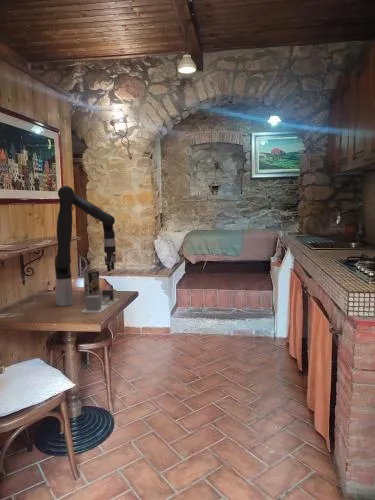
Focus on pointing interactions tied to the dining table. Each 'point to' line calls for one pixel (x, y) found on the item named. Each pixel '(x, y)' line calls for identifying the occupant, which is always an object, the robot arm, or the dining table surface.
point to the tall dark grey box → (107, 296)
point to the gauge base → (103, 307)
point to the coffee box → (91, 282)
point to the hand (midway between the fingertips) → (110, 270)
